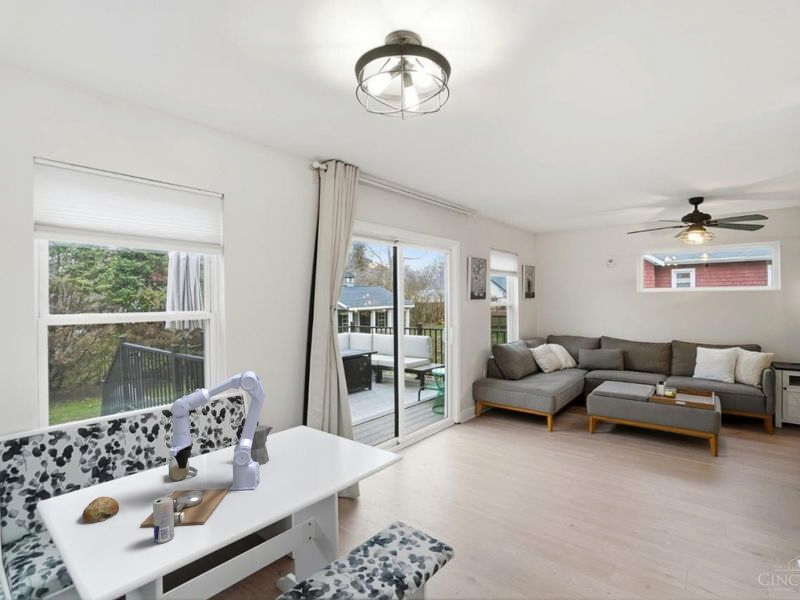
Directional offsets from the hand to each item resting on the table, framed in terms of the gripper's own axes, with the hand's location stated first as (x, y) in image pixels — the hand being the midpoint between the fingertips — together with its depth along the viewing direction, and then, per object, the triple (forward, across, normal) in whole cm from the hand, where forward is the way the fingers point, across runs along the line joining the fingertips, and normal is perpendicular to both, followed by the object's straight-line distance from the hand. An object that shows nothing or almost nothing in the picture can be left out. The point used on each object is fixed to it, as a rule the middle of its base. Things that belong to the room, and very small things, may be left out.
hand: (182, 467), depth 155 cm
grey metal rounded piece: (+9, +11, +5) cm, 15 cm away
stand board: (+10, +10, +6) cm, 15 cm away
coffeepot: (+11, -29, +18) cm, 36 cm away
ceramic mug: (+11, -17, -8) cm, 22 cm away
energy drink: (+11, +28, +7) cm, 31 cm away
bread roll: (+11, +12, -22) cm, 28 cm away
